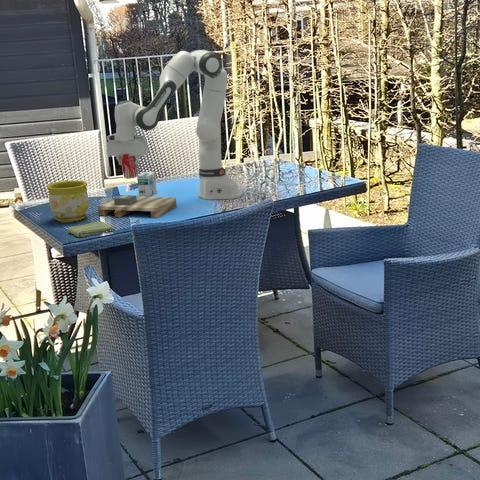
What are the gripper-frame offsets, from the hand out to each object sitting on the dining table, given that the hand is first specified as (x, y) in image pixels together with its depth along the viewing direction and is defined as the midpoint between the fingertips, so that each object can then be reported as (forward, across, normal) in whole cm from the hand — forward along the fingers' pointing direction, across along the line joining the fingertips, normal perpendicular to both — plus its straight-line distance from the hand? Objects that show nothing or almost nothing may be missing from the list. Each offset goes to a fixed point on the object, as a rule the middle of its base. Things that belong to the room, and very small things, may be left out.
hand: (128, 164), depth 370 cm
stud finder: (+16, -2, +10) cm, 19 cm away
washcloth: (+21, -2, +44) cm, 49 cm away
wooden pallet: (+21, -6, +6) cm, 22 cm away
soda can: (+6, -1, 0) cm, 6 cm away
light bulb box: (+21, +6, -30) cm, 37 cm away
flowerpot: (+21, +19, +25) cm, 38 cm away
